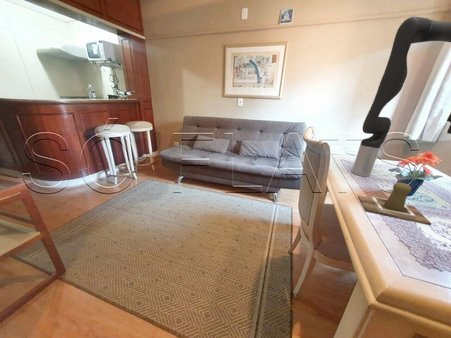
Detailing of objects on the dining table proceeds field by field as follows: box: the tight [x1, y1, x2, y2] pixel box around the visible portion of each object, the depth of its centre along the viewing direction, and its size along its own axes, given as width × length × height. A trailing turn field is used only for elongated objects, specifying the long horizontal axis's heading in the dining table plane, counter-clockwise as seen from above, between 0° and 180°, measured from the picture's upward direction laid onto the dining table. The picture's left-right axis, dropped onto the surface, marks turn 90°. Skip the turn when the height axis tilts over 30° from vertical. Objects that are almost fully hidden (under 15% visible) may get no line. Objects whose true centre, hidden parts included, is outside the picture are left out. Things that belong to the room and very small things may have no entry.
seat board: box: [357, 195, 432, 226], centre depth 75 cm, size 12×20×2 cm, turn 68°
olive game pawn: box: [384, 182, 413, 212], centre depth 73 cm, size 6×6×11 cm
